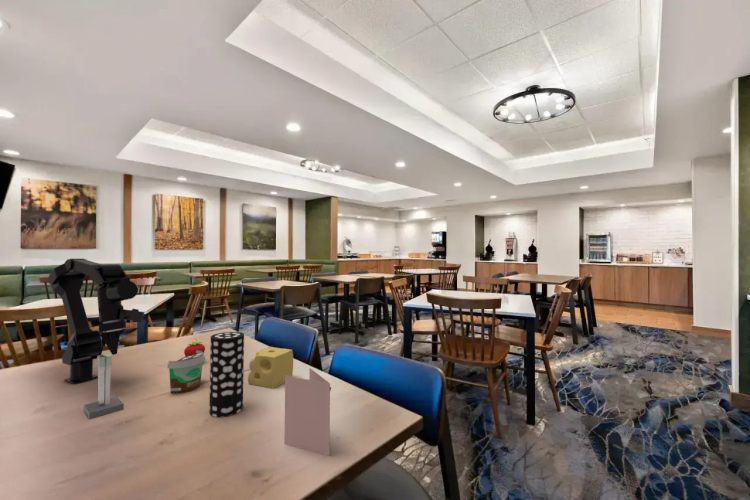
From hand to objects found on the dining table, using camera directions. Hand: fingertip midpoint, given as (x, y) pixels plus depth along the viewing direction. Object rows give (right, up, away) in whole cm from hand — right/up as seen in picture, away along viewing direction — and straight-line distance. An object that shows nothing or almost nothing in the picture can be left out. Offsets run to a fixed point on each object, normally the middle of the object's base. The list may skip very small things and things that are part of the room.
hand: (114, 353), depth 101 cm
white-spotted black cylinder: (+41, -11, -13) cm, 44 cm away
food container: (+23, -11, +1) cm, 26 cm away
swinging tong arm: (+8, -9, -14) cm, 19 cm away
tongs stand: (+8, -11, -14) cm, 19 cm away
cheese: (+47, -12, +7) cm, 49 cm away
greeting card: (+66, -11, -30) cm, 73 cm away
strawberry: (+12, -12, +23) cm, 29 cm away
